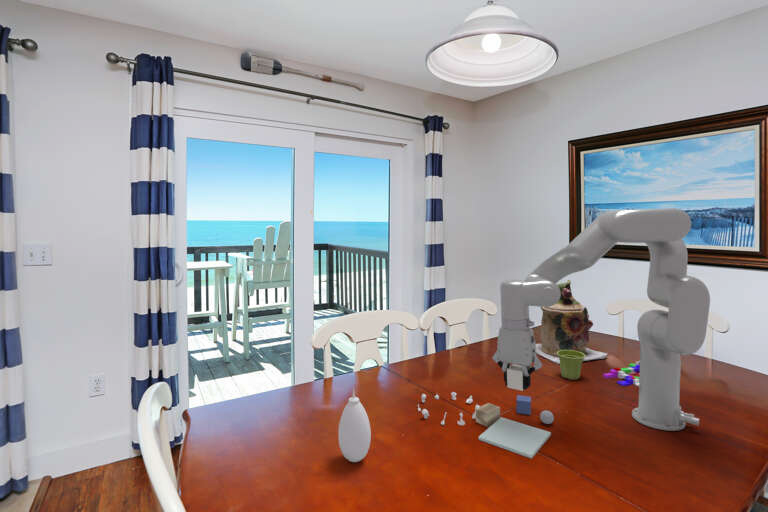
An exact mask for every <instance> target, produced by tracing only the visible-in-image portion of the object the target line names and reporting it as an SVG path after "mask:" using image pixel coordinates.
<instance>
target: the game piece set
mask: <svg viewBox="0 0 768 512" xmlns="http://www.w3.org/2000/svg"><path fill="white" fill-rule="evenodd" d="M450 395H451V400H454V401H456V400H457V397H456V396H457V393H456V392H454V391H452V392H451V393H450ZM426 398H427V395H426V394H425V393H422V394H421V402H422V404H424V403H425V402H426V400H425V399H426ZM434 399H435V400H439V399H440V396H439V395H438V394H436V395H434ZM473 402H474V400H473V396H472V395H470V396H469V398H467V399H466V401H465V403H467V404H471V403H473ZM417 407H418V408H417V410H418V412H419V411H420V412H421V414H422V415H423V417H424V419H426V420H427V419H428V417H429V416H430V414H429V411H428V410H427V409H426V408H423V409H421V407H420V404H417ZM479 407H481V405H479V404H475V409H474V410H475V411H474V412H473V413H472V419H474V420H476V409H477V408H479ZM447 414H448V412H446V411H445V412H444V416H443V420H441V422H440V425H442V426H444V425H445V423H446V422H445V419H446V416H447ZM459 416H460V420H457V424H458V425H459V426H461V425H462V426H464V425H466V423H465V420H463V419H464V418H463V416H464V414H463V413H462V412H460V413H459Z"/></svg>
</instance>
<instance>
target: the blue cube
mask: <svg viewBox="0 0 768 512" xmlns="http://www.w3.org/2000/svg"><path fill="white" fill-rule="evenodd" d="M531 409H532V396H527V395H519V394H517V395H516V414H520V415H521V414H522V415H527V416H528V415H529V416H531V412H532V410H531Z"/></svg>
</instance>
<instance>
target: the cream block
mask: <svg viewBox="0 0 768 512" xmlns="http://www.w3.org/2000/svg"><path fill="white" fill-rule="evenodd" d="M523 376H524V371H523V368H522V365H518V364H510V367H509V368H507V386H506V388H509V389H513V390H517V391H521V392H523V391H525V390H524V389H523Z"/></svg>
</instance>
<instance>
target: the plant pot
mask: <svg viewBox="0 0 768 512" xmlns="http://www.w3.org/2000/svg"><path fill="white" fill-rule="evenodd" d="M557 354H558V357H559V360H560V364H559V367H560V374H561V375H560V376H561V377H562V378H563V379H568V380H579V379H580V378H581V377H580V376H581V372H582V366H583V362H584V361H583V360H584V358H585V354H583V353H581V352H578V351H573V350H560V351H558V352H557Z"/></svg>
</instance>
